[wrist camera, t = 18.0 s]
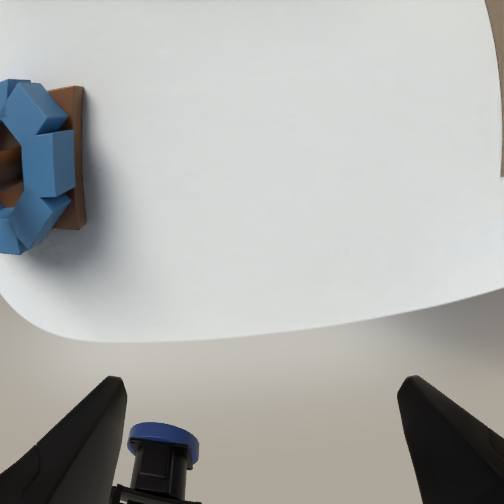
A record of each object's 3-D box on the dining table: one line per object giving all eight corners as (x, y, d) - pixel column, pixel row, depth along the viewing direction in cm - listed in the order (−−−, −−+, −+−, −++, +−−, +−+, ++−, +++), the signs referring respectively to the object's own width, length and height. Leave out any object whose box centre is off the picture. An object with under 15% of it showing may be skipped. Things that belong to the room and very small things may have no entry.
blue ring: (81, 242, 17) (65, 259, 15) (-22, 237, 16) (-40, 249, 14) (77, 69, 13) (56, 65, 11) (-33, 101, 12) (-54, 104, 10)
